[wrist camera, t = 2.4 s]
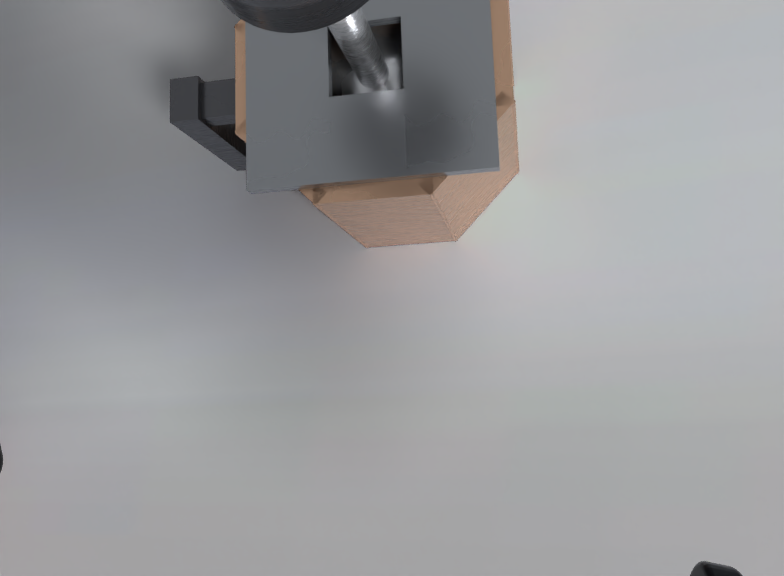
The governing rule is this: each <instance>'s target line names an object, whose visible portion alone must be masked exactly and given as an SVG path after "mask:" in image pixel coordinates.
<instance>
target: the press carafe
mask: <svg viewBox="0 0 784 576" xmlns="http://www.w3.org/2000/svg"><path fill="white" fill-rule="evenodd" d="M361 8H362V11H363V13H364V15H365V17H366V19H367V22H368V24H369V26H370V27H373V26H380V25H388V24H395V23H401V36H402V61H403V87H404V88H403V89H395V90H386V91H377V92H369V93H360V94H351V95H343V96H334V97H332V59H331V31H330V29H329V27H328V26H327V27H324V28H321V29H318V30H313V31H308V32H301V33H279V32H273V31H268V30H264V29H261V28H258V27H256V26H253V25H251V24H249V23H247V22H245V21H243V20H242V19H241V20H240V21H239V22H238V23H237V24H235V27H234V28H235V79H227V80H219V81H211V82H204V81H203V80H202V79H201V78H200V77H199V76H194V77H186V78H178V79H170V123H172V124H173V125H174V126H176V127H177V128H179V129H180V130H181V131H183V132H184V133H186V134H187V135H188V136H190V137H191V138H192V139H194V140H195V141H197V142H198V143H199V144H201V145H202V146H204V147H205V148H206V149H208V150H209V151H211V152H212V153H213V154H215V155H216V156H217V157H219V158H220V159H222V160H223V161H224V162H226V163H227V164H229V165H230V166H231V167H233V168H234V169H236V170H237V171H239V170H246V190H247V191H248V192H250V193H251V194H253V193H264V192H275V191H286V190H297V189H298V190H299V191H300V192H301V193H303V194H304V195H305V196H306V197H307V198H308V199H309V200H310V201H311V202H312V203H313V205H314V206H315V207H317V208H318V209H319V210H320V211H321V212H323V213H324V214H325V215H326V216H328V217H329V218H330V219H331V220H333V221H334V222H335V223H336V224H337V225H339V226H340V227H341V228H342V229H344V230H345V231H346V232H347V233H348V234H350V235H351V236H352V237H353V238H355V239H356V240H357V241H358V242H360V243H361V244H362V245H363V246H364V247H367V248H368V247H378V246H392V245H405V244H419V243H432V242H446V241H455V242H456V241H458V238H459V237H460V236H461V235H462V234H463V233H464V232H465V231H466V229H467V228H468V227H469V226H470V225H471V224H472V223H473V222H474V221H475V219H476V218H477V217H478V216H479V215H480V214H481V213H482V212H483V211H484V209H485V208H486V207H487V206H488V205H489V204H490V203H491V202H492V201H493V199H494V198H495V197H496V196H497V195H498V194H499V193H500V192H501V191H502V190H503V188H504V187H505V186H506V185H507V184H508V183H509V182H510V181H511V180H512V178H513V177H514V176H515V175H516V174H517V173H518V172H519V159H518V142H517V125H516V108H515V101H514V95H513V86H514V80H513V63H512V46H511V30H510V13H509V0H369V1H368V2H367V3H366V4H364V5H363V6H362V7H361Z"/></svg>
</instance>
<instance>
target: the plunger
mask: <svg viewBox="0 0 784 576" xmlns="http://www.w3.org/2000/svg"><path fill="white" fill-rule="evenodd" d="M221 1H222V2H223V3H224V5H225V6H226V7H227V8H228V9H229V10H230V11H231V12H232V13H234V14H235V15H236V16H238V17H239V18H240V19H242V20H243V21H245V22H247V23H249V24H251V25H253V26H256V27H258V28H261V29H264V30H268V31H273V32H279V33H301V32H308V31H313V30H318V29H321V28H324V27H327V26H328V27H329V29H330V31H331V59H332V97H334V96H343V95H351V94H360V93H369V92H377V91H386V90H395V89H403V88H404V87H403V61H402V36H401V23H395V24H388V25H380V26H373V27H370V26H369V24H368V22H367V19H366V17H365V15H364V13H363V11H362V8H361V7H362V6H363V5H364V4H366V3H367V2H368V1H369V0H221Z"/></svg>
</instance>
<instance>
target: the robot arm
mask: <svg viewBox="0 0 784 576" xmlns="http://www.w3.org/2000/svg"><path fill="white" fill-rule="evenodd" d="M2 465H3V455H2V450H1V445H0V472H1V470H2ZM690 576H742V575H741V573H740V572H738V571H737V570H736V569H735V568H733V567H730V566H726V565H721V564H716V563H711V562H706V561H701V562H699V563H698V564H696V566H695V567H694V568H693V570H692V572H691V574H690Z"/></svg>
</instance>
